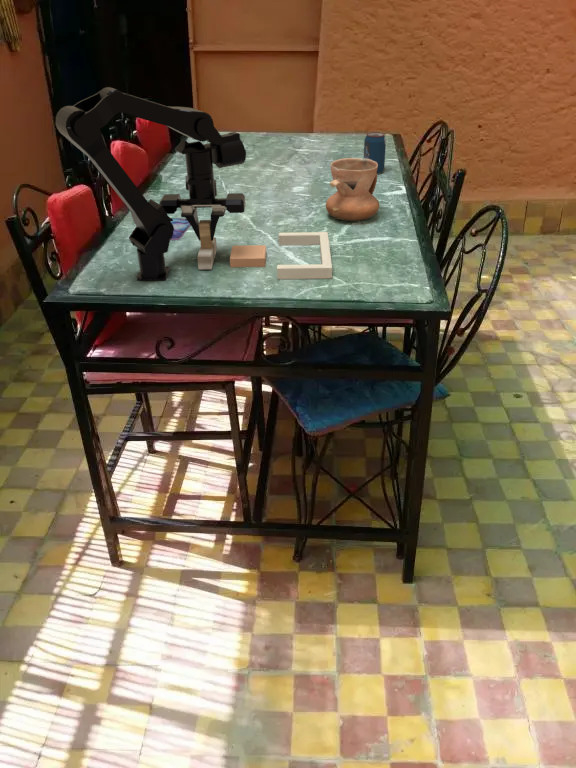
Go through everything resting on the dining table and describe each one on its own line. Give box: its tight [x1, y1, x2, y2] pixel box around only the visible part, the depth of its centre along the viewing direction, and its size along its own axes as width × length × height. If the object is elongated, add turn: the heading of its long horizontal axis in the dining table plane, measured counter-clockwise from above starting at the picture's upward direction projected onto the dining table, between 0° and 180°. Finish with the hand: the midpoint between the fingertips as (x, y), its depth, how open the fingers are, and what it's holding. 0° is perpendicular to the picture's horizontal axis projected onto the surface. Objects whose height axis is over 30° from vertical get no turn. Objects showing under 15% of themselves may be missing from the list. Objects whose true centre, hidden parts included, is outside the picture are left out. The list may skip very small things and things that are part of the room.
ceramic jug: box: [325, 157, 380, 222], centre depth 170 cm, size 18×14×14 cm
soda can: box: [363, 131, 387, 175], centre depth 206 cm, size 7×7×12 cm
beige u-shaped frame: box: [276, 231, 333, 280], centre depth 149 cm, size 12×22×2 cm, turn 0°
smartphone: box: [170, 217, 192, 241], centre depth 167 cm, size 7×1×15 cm
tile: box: [229, 244, 267, 268], centre depth 149 cm, size 8×8×2 cm
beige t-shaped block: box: [196, 219, 218, 270], centre depth 147 cm, size 12×3×9 cm, turn 179°
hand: (206, 240), depth 147 cm, fingers closed on beige t-shaped block, 2 cm apart
